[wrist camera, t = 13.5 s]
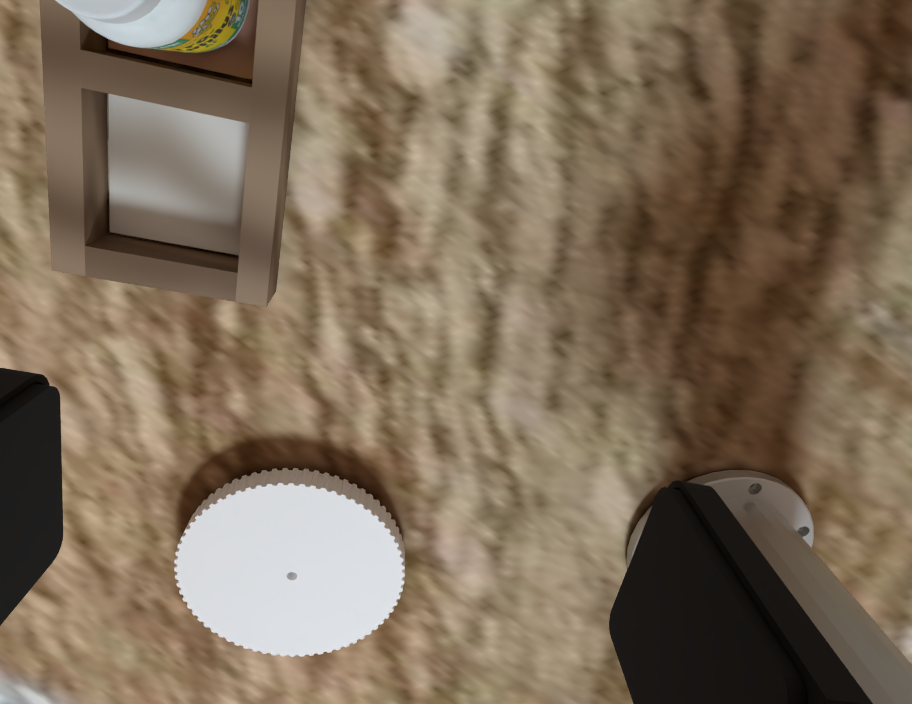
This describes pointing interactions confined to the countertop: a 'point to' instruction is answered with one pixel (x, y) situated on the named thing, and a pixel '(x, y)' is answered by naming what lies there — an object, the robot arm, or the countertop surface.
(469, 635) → the countertop surface
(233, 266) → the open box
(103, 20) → the supplement bottle
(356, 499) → the plastic lid
